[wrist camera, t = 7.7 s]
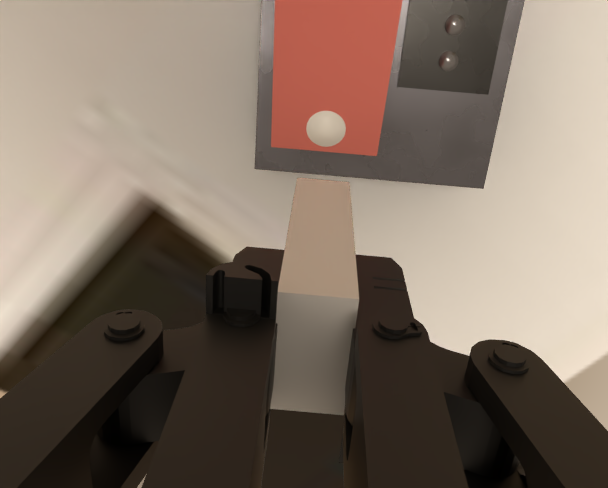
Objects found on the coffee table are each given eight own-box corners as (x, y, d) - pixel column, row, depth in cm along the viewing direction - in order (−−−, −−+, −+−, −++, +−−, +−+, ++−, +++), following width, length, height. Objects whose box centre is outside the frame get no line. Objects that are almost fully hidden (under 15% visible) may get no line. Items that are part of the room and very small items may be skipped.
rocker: (282, -106, 22) (277, -97, 20) (412, -96, 22) (416, -85, 20) (275, 126, 28) (270, 147, 27) (375, 135, 28) (376, 156, 27)
